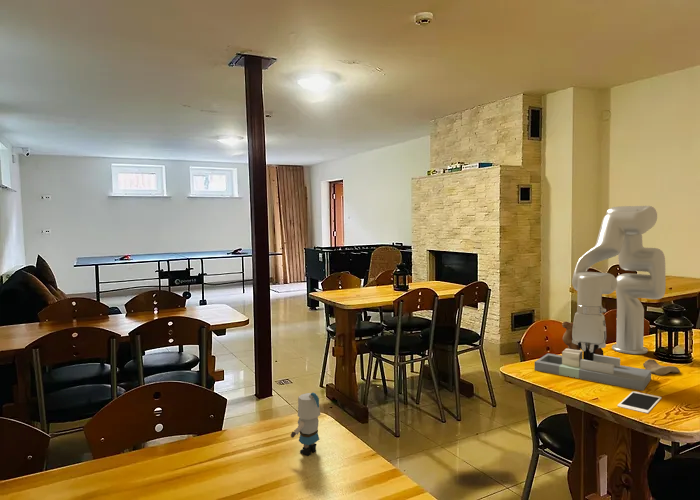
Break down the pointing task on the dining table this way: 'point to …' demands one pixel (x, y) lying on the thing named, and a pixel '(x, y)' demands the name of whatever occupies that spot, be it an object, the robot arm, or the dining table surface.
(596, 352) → the figurine
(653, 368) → the pottery shard
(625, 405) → the black and white tile
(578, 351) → the block
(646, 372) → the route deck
